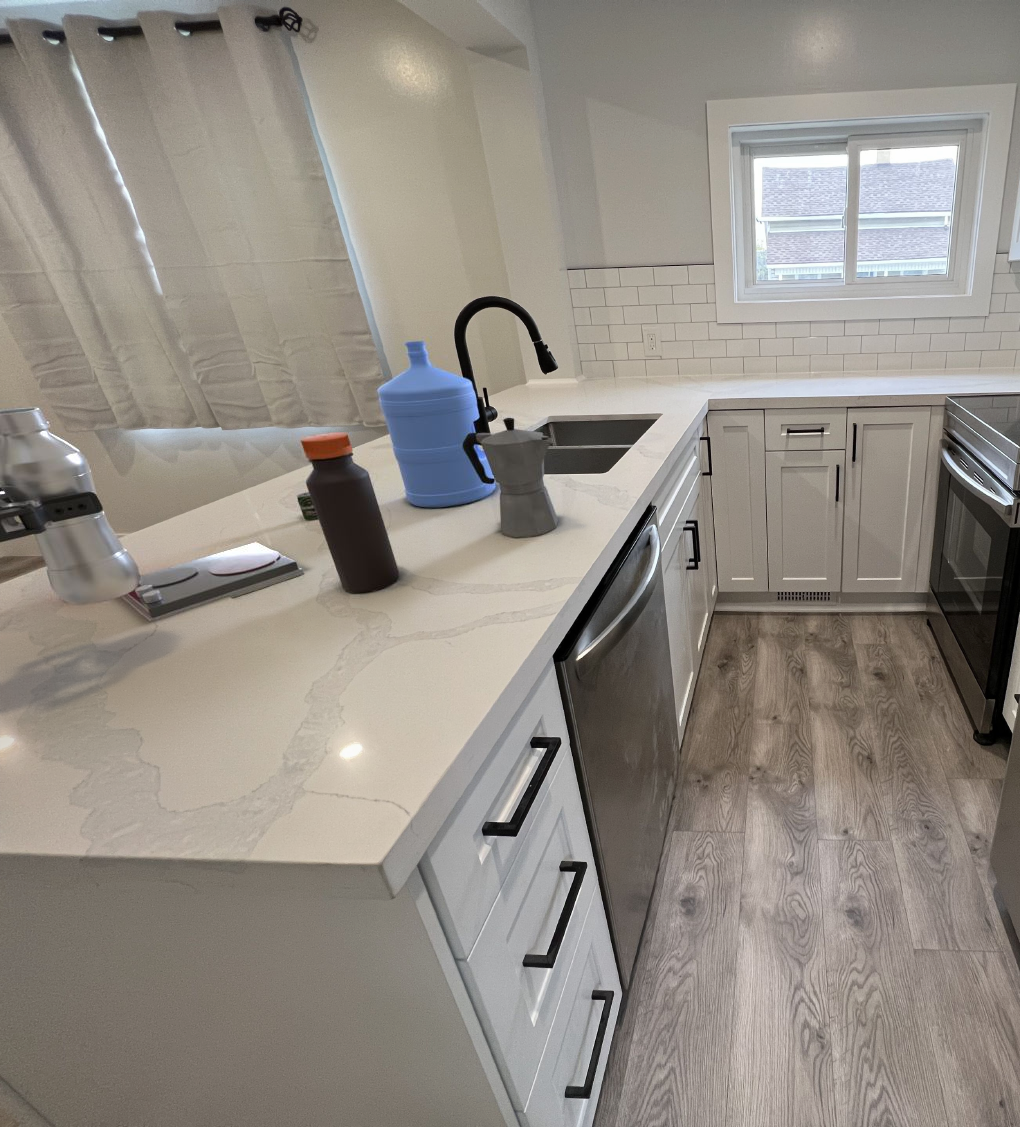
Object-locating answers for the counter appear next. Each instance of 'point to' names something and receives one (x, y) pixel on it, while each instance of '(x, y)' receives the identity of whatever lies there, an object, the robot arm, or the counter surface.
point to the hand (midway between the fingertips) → (89, 495)
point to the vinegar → (349, 514)
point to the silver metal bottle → (74, 546)
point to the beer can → (307, 506)
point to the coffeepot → (516, 478)
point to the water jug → (433, 433)
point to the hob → (209, 580)
